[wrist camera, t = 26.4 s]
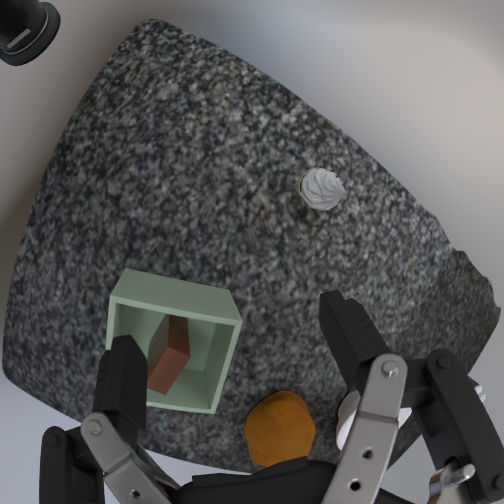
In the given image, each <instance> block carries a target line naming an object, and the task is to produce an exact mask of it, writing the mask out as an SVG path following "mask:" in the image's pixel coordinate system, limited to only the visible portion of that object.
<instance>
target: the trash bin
mask: <svg viewBox="0 0 504 504" xmlns="http://www.w3.org/2000/svg"><path fill="white" fill-rule="evenodd" d="M165 314H171V315H176V316H181V317H187V319H188V332H189V344H190V355H191V358H190V359H189V361H188V362H187V364H186V365H185V367H184V368H183V370H182V371H181V373H180V374H179V376H178V377H177V379H176V380H175V382H174V383H173V385H172V386H171V388H170V389H169V391H168V392H167V394H166V395H163V394H161V393H158V392H156V391H153V390H151V389H149V388H147V403H146V405H149V406H154V407H161V408H167V409H174V410H182V411H190V412H200V413H211V414H215V411H216V408H217V405H218V401H219V398H220V395H221V392H222V388H223V385H224V382H225V379H226V375H227V372H228V369H229V366H230V362H231V359H232V356H233V352H234V349H235V346H236V343H237V339H238V336H239V333H240V329H241V326H242V323H243V320H242V318H241V316H240V313H239V311H238V309H237V307H236V305H235V302H234V300H233V298H232V296H231V293H230V291H229V290H228V289H223V288H217V287H212V286H207V285H202V284H197V283H193V282H188V281H183V280H178V279H173V278H169V277H164V276H160V275H155V274H151V273H146V272H142V271H137V270H133V269H128V268H125V270H124V272H123V273H122V275H121V277H120V279H119V280H118V282H117V284H116V286H115V287H114V289H113V291H112V293H111V295H110V301H109V311H108V323H107V336H106V350H111V344H112V340H113V338H114V337H116V336H122V335H129V334H130V335H132V337H133V338H134V340H135V341H136V343H137V344H138V346H139V347H140V349H141V350H142V352H143V353H144V355H145V357H146V360H147V357H148V349H149V342H150V340H151V338H152V337H153V335H154V333H155V331H156V330H157V328H158V326H159V325H160V323H161V321H162V319H163V318H164V316H165Z"/></svg>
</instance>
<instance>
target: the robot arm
mask: <svg viewBox="0 0 504 504" xmlns="http://www.w3.org/2000/svg"><path fill="white" fill-rule="evenodd" d="M48 22H49V13H48V11H47V10H46V9H45V8H44V7H43V6H42V4H41V3H40V2H39V0H0V49H2V50H3V51H4V52H5V53H6V54H9V55H16V54H19V53H22V52H24V51H25V50H27V49H28V48H30V47H31V46H32V45H33V44H34V43H35V42H36V41H37V40H38V39H39V38H40V37H41V35H42V34H43V33H44V31H45V29H46V27H47V25H48ZM319 321H320V326H321V330H322V332H323V334H324V337H325V339H326V341H327V343H328V345H329V347H330V350H331V352H332V354H333V356H334V358H335V361H336V363H337V365H338V367H339V370H340V372H341V374H342V376H343V378H344V381H345V383H346V385H347V387H348V390H349V392H350V393H352V392H355V391H358V392H359V395H360V397H361V398H360V401H359V404H358V407H357V410H356V413H355V416H354V419H353V422H352V425H351V427H350V430H349V433H348V436H347V438H346V441H345V443H344V446H343V448H342V450H341V453H340V455H339V458H338V460H337V463H336V464H334V463H331V462H327V461H321V460H307V457H306V456H302V457H299V458H295V459H291V460H287V461H283V462H278V463H276V464H274V465H272V466H270V467H267V468H265V469H263V470H261V471H258V472H256V473H254V474H251V475H236V474H225V473H215V474H205V475H194V476H192V480H193V481H192V482H189V483H187V484H185V485H183V486H180V485H179V484H177V483H176V482H175V481H174V480H173V479H172V478H171V477H169V476H168V475H167V474H166V473H165V472H164V471H163V470H162V469H161V468H160V467H159V466H158V465H157V464H156V462H154V460H153V459H152V458H151V457H150V455H149V454H148V453H147V452H146V451H145V449H144V448H143V447H142V446H141V445H140V443H139V442H138V441H137V434H146V403H147V377H148V364H147V360H146V357H145V355H144V353H143V352H142V350H141V349H140V347H139V346H138V344H137V343H136V341H135V340H134V338H133V337H132V335H130V334H129V335H122V336H116V337H114V338H113V340H112V344H111V350H106V351H105V353H104V355H103V356H102V358H101V360H100V365H99V370H98V371H99V372H98V376H97V382H96V388H95V395H94V402H93V409H92V413H91V414H89V415H87V416H86V417H85V418H84V420H83V421H82V424H81V426H79V427H76V428H73V429H70V430H67V431H64V430H63V429H61V428H60V427H57V426H52V427H50V428H48V429H47V430H46V431H45V433H44V435H43V437H42V446H41V458H40V479H39V504H105V496H104V481H105V483H106V485H107V486H108V488H109V489H110V490H111V492H112V493H113V495H114V496H115V497H116V499H117V500H118V501H119V503H120V504H414V503H412V502H410V501H407V500H405V499H403V498H400V497H398V496H396V495H394V494H392V493H390V492H388V491H386V490H384V489H382V488H380V486H381V483H382V481H383V478H384V475H385V472H386V469H387V466H388V463H389V460H390V457H391V453H392V450H393V446H394V443H395V439H396V436H397V432H398V428H399V421H398V415H399V411H400V409H402V408H411V410H412V412H413V414H414V417H415V419H416V421H417V424H418V426H419V428H420V431H421V433H422V436H423V438H424V440H425V443H426V445H427V448H428V450H429V453H430V455H431V458H432V461H433V463H434V466H435V469H436V472H435V473H434V474H433V476H432V477H431V479H430V483H429V490H430V497H429V501H428V503H427V504H490V503H493V502H495V501H498V500H501V499H503V498H504V448H503V445H502V443H501V440H500V438H499V436H498V434H497V432H496V430H495V427H494V425H493V423H492V421H491V419H490V417H489V415H488V413H487V412H486V409H485V407H484V405H483V403H482V401H481V399H480V398H479V396H478V394H477V392H476V390H475V388H474V387H473V385H472V383H471V381H470V379H469V378H468V376H467V374H466V372H465V371H464V369H463V367H462V366H461V364H460V362H459V361H458V359H457V357H456V356H455V355H454V354H453V353H452V352H451V351H449V350H447V349H436V350H434V351H432V352H431V353H430V354H429V356H428V358H424V359H415V360H404V359H402V358H401V357H399V356H398V355H395V354H393V353H392V352H391V351H390V350H389V348H388V347H387V345H386V343H385V342H384V340H383V338H382V337H381V335H380V333H379V332H378V330H377V329H376V327H375V325H374V324H373V323H372V320H371V319H370V317H369V316H368V314H367V313H366V311H365V309H364V308H363V306H362V305H361V304H360V303H358V302H357V301H355V300H354V299H353V298H350V299H347V300H345V299H344V298H343V296H342V294H341V293H340V291H339V290H338V289H336V290H333V291H329V292H325V293H322V294H320V304H319ZM103 471H104V473H105V475H103Z"/></svg>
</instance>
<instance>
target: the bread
mask: <svg viewBox="0 0 504 504" xmlns="http://www.w3.org/2000/svg"><path fill="white" fill-rule="evenodd" d="M243 431H244V435H245V437H246V440H247V445H248V449H249V454H250V457H251V459H252V460H253V461H254V462H256V463H258V464H260V465H262V466H265V467H270V466H272V465H274V464H276V463H278V462H283V461H287V460H291V459H295V458H299V457H302V456H308V454H309V451H310V448H311V445H312V442H313V439H314V436H315V424H314V422H313V420H312V418H311V417H310V415H309V410H308V407H307V405H306V404H305V402H304V401H303V399H302V398H301V397H300V396H299V395H297V394H295V393H293V392H290V391H278V392H276V393H274V394H272V395H270V396H268V397H267V398H265V399H264V400H263V401H262V402H260V403H259V404H258V405H256V406H255V407H254V408H253V409H252V410H251V412H250V413H249V415H248V416H247V419H246V421H245V424H244V430H243Z"/></svg>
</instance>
